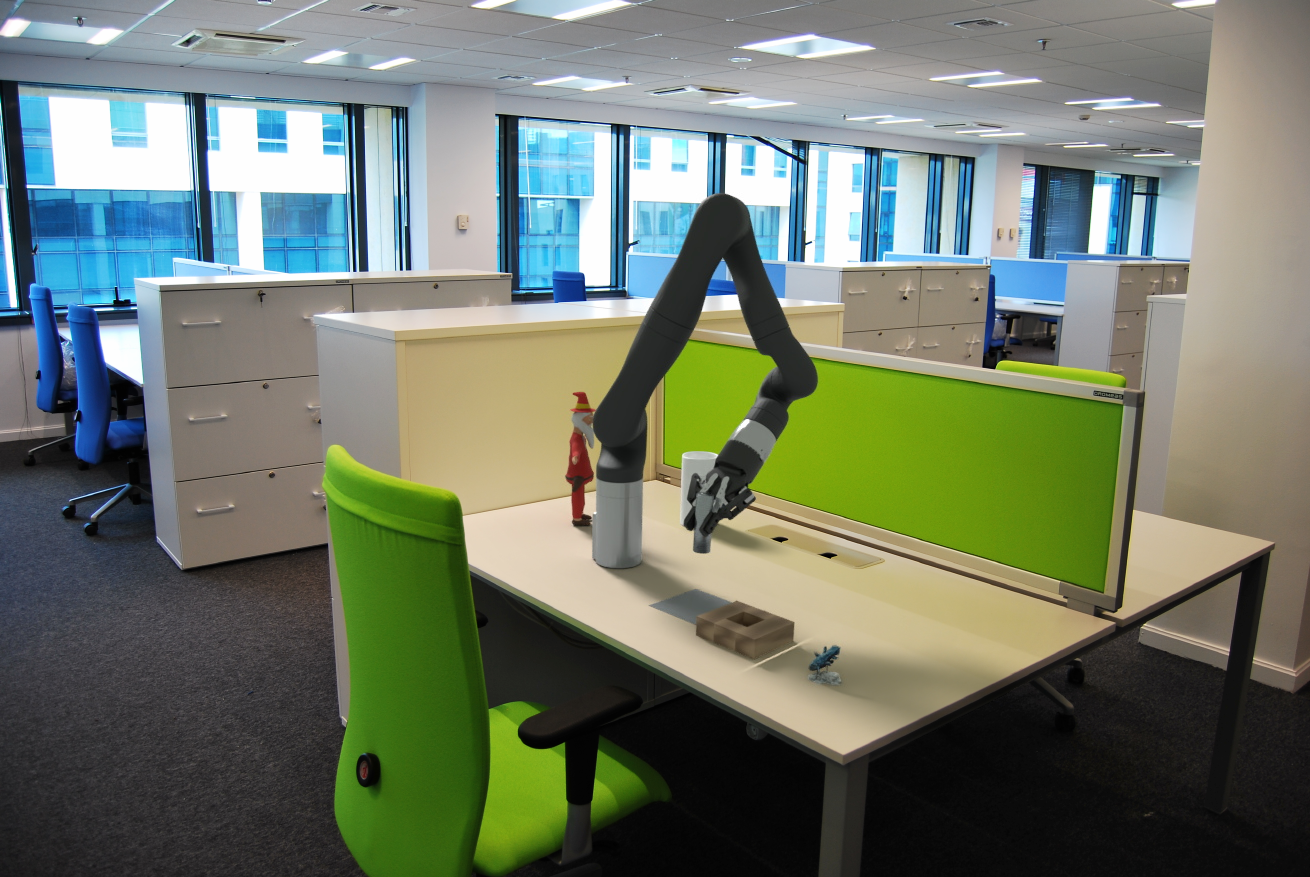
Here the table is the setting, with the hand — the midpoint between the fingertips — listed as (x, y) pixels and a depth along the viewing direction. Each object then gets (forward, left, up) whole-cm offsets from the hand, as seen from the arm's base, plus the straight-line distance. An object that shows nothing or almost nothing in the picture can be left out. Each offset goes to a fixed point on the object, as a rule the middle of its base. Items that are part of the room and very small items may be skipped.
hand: (695, 530), depth 155 cm
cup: (-35, +39, -15) cm, 54 cm away
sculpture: (+30, -4, -15) cm, 34 cm away
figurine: (-53, +19, -15) cm, 58 cm away
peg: (0, +2, -4) cm, 5 cm away
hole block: (+13, -2, -15) cm, 20 cm away
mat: (0, +2, -15) cm, 15 cm away
